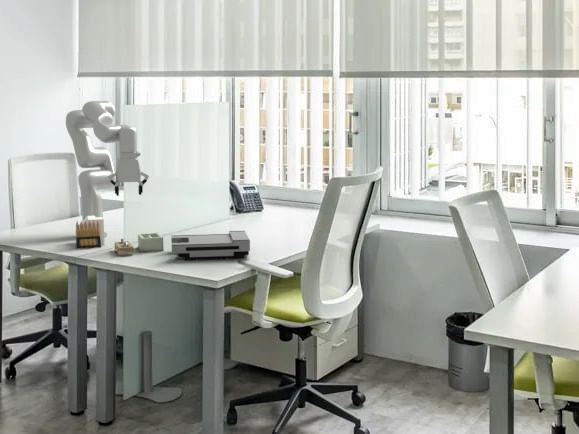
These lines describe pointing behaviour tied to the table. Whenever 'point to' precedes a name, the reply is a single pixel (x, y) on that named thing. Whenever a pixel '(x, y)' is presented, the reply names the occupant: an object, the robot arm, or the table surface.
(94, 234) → the ammunition clip
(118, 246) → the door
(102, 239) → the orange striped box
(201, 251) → the grey printer
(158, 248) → the green compartment box
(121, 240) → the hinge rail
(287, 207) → the table surface
